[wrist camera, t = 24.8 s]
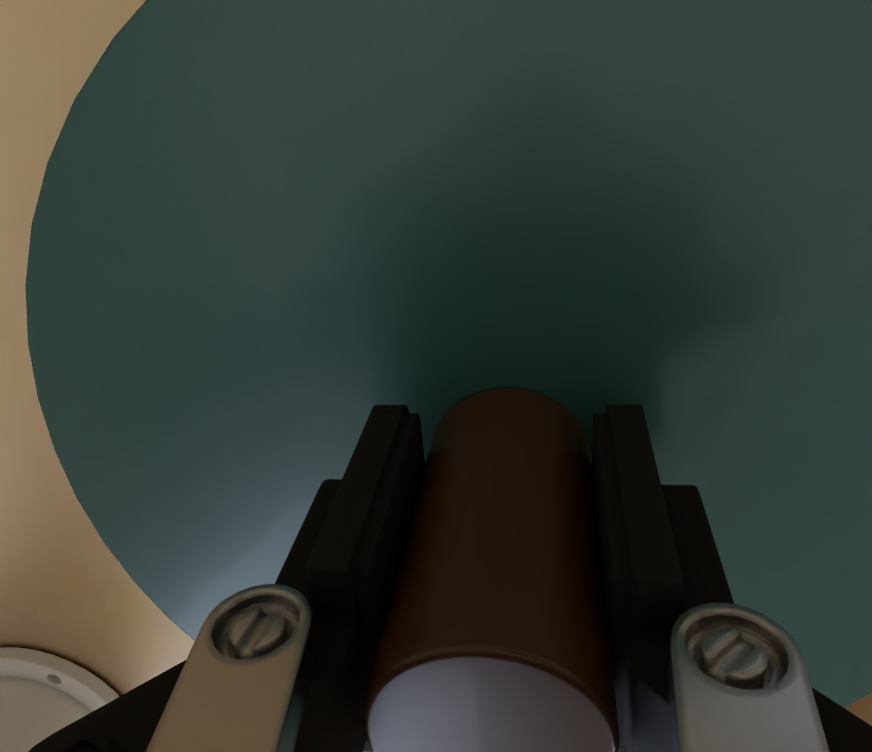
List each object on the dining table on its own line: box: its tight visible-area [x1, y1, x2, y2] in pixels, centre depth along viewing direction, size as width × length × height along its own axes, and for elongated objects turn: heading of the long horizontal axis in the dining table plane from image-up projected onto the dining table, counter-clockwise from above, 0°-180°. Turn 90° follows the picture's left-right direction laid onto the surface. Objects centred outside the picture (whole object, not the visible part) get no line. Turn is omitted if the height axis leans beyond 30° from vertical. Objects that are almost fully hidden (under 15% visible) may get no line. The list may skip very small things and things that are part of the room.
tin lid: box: [26, 0, 872, 752], centre depth 11 cm, size 18×18×7 cm
